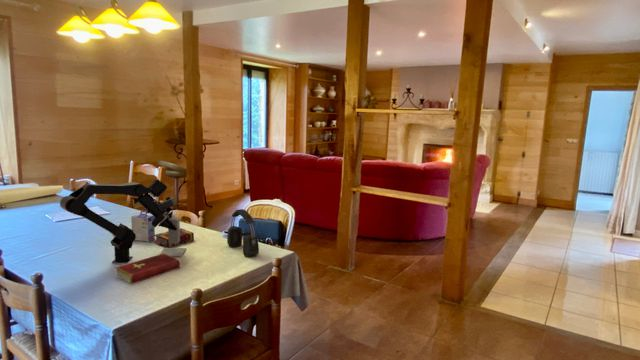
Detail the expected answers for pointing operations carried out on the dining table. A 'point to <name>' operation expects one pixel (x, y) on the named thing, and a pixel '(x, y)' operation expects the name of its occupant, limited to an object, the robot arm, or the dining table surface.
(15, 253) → the dining table surface
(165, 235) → the decorative book
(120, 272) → the hardcover book
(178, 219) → the grey tall piece
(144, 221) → the ink cartridge box
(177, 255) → the plate
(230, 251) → the dining table surface
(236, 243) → the headphones
